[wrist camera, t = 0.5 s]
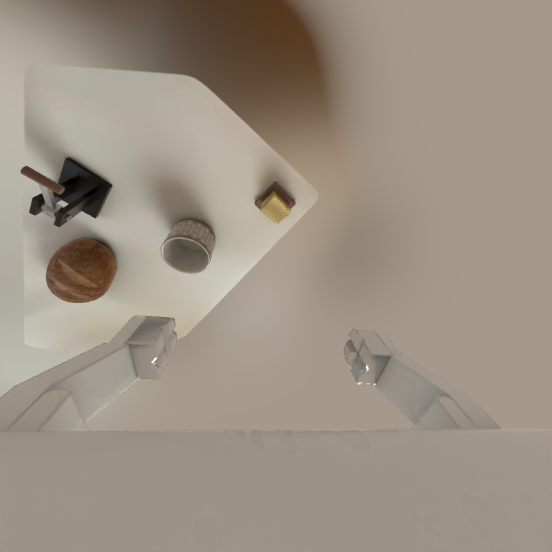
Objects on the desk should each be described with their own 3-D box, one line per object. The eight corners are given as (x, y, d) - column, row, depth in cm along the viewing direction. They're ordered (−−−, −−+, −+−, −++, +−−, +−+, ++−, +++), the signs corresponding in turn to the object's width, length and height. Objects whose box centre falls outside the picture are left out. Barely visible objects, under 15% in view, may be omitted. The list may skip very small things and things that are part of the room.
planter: (176, 249, 66) (165, 271, 58) (169, 214, 57) (155, 234, 49) (216, 254, 68) (210, 275, 60) (215, 220, 59) (209, 240, 52)
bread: (129, 252, 66) (110, 277, 57) (104, 296, 80) (87, 321, 72) (70, 224, 58) (38, 248, 49) (54, 278, 72) (27, 304, 64)
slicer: (68, 156, 46) (20, 175, 37) (112, 185, 51) (79, 208, 42) (57, 193, 52) (13, 218, 43) (98, 216, 56) (66, 242, 47)
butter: (275, 181, 52) (276, 189, 48) (295, 202, 56) (297, 211, 53) (254, 202, 56) (254, 211, 52) (274, 220, 60) (275, 230, 56)
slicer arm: (29, 162, 33) (16, 171, 32) (66, 184, 36) (56, 193, 35) (43, 200, 44) (34, 208, 43) (71, 215, 46) (63, 223, 45)
